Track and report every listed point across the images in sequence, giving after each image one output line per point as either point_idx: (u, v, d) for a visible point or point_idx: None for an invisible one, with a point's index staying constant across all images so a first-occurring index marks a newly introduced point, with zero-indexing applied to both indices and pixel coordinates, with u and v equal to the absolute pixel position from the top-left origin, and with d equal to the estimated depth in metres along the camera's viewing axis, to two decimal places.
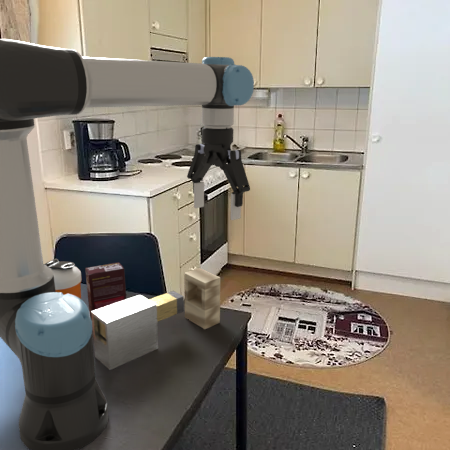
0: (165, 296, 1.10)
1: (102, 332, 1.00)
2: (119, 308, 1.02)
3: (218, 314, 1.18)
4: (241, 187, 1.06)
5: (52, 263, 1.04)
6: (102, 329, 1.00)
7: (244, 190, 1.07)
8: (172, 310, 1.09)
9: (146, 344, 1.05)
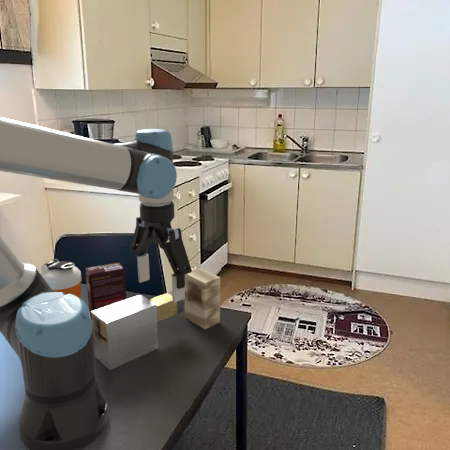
0: (165, 296, 1.10)
1: (102, 332, 1.00)
2: (119, 308, 1.02)
3: (218, 314, 1.18)
4: (181, 270, 0.98)
5: (52, 263, 1.04)
6: (102, 329, 1.00)
7: (184, 273, 0.98)
8: (172, 310, 1.09)
9: (146, 344, 1.05)
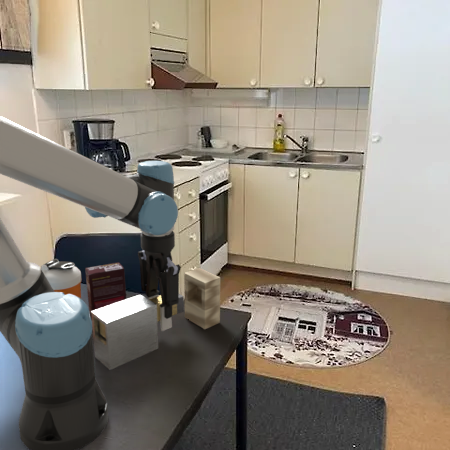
0: None
1: (102, 332, 1.00)
2: (119, 308, 1.02)
3: (218, 314, 1.18)
4: (169, 303, 1.03)
5: (52, 263, 1.04)
6: (102, 329, 1.00)
7: (171, 305, 1.04)
8: (172, 310, 1.09)
9: (146, 344, 1.05)
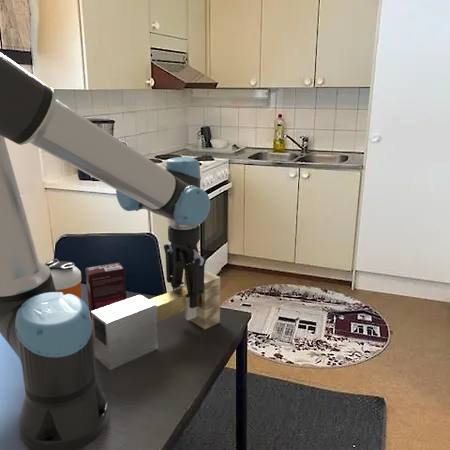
0: None
1: None
2: (119, 308, 1.02)
3: (218, 314, 1.18)
4: (195, 293, 1.08)
5: (52, 263, 1.04)
6: None
7: (197, 295, 1.09)
8: (197, 300, 1.14)
9: (146, 344, 1.05)
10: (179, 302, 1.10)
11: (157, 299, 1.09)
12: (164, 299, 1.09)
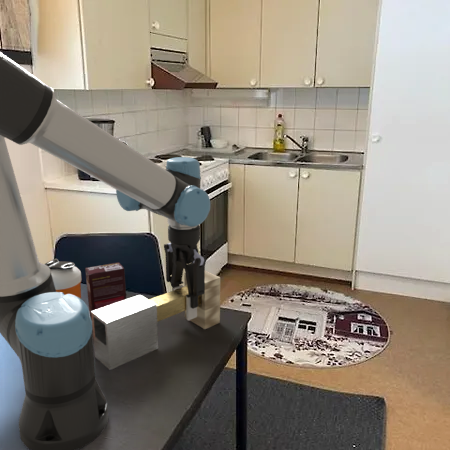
0: None
1: None
2: (119, 308, 1.02)
3: (218, 314, 1.18)
4: (196, 293, 1.08)
5: (52, 263, 1.04)
6: None
7: (198, 295, 1.09)
8: None
9: (146, 344, 1.05)
10: (179, 302, 1.10)
11: (157, 299, 1.09)
12: (164, 299, 1.09)
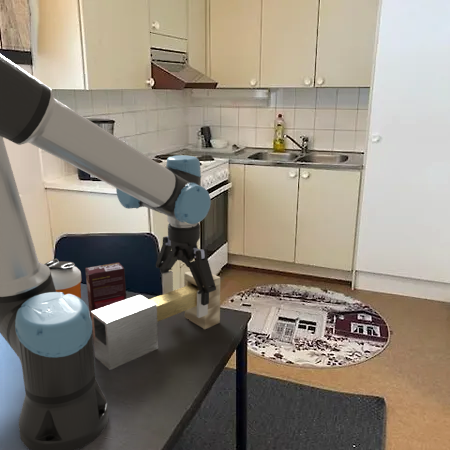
0: (190, 287, 1.15)
1: None
2: (119, 308, 1.02)
3: (218, 314, 1.18)
4: (206, 288, 1.04)
5: (52, 263, 1.04)
6: None
7: (209, 291, 1.05)
8: None
9: (146, 344, 1.05)
10: (179, 302, 1.10)
11: (157, 299, 1.09)
12: (164, 299, 1.09)
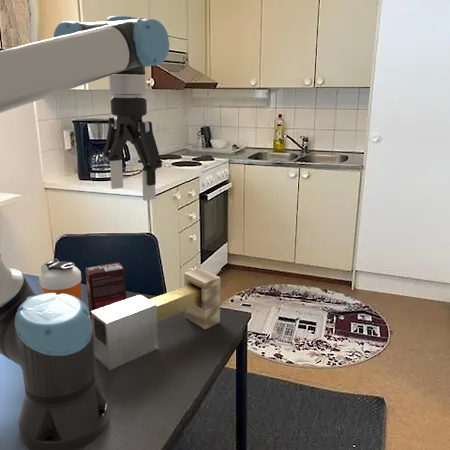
0: (190, 287, 1.15)
1: None
2: (119, 308, 1.02)
3: (218, 314, 1.18)
4: (151, 163, 0.95)
5: (52, 263, 1.04)
6: None
7: (154, 166, 0.96)
8: (197, 300, 1.14)
9: (146, 344, 1.05)
10: (179, 302, 1.10)
11: (157, 299, 1.09)
12: (164, 299, 1.09)
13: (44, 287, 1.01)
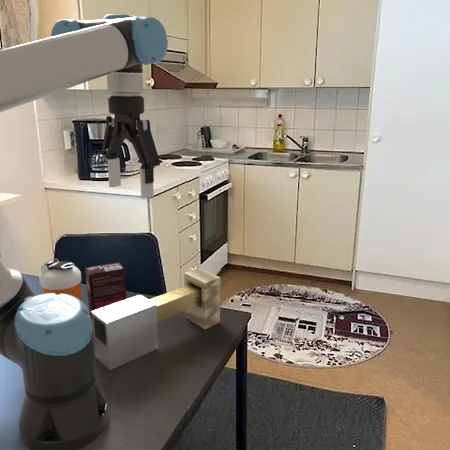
0: (190, 287, 1.15)
1: None
2: (119, 308, 1.02)
3: (218, 314, 1.18)
4: (149, 161, 0.95)
5: (52, 263, 1.04)
6: None
7: (152, 164, 0.96)
8: (197, 300, 1.14)
9: (146, 344, 1.05)
10: (179, 302, 1.10)
11: (157, 299, 1.09)
12: (164, 299, 1.09)
13: (44, 287, 1.01)
